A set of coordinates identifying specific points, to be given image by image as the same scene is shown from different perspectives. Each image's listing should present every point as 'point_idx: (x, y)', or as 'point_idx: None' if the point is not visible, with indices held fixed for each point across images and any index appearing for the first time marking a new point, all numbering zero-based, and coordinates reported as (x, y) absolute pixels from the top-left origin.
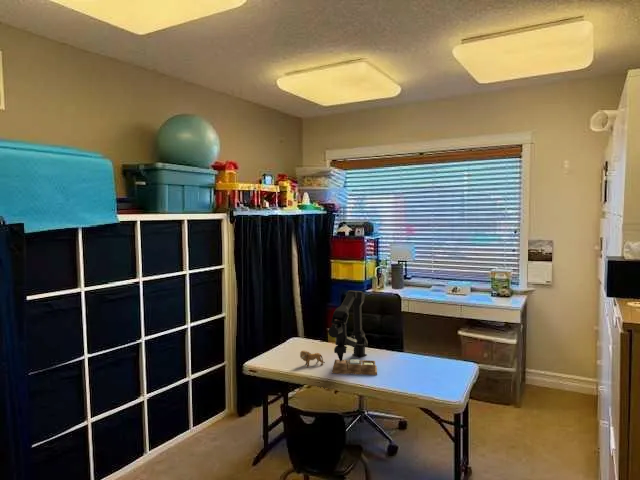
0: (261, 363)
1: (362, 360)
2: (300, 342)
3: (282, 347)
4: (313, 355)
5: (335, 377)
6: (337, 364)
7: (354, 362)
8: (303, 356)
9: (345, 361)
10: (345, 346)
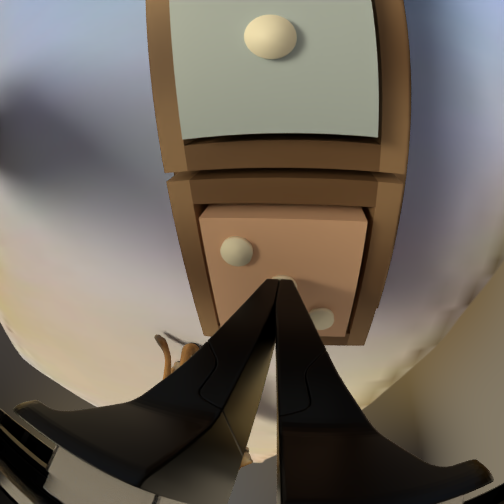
0: None
1: None
2: (33, 358)
3: (92, 402)
4: None
5: (457, 262)
6: (372, 311)
7: (369, 44)
8: (252, 461)
9: (293, 220)
10: (29, 424)
